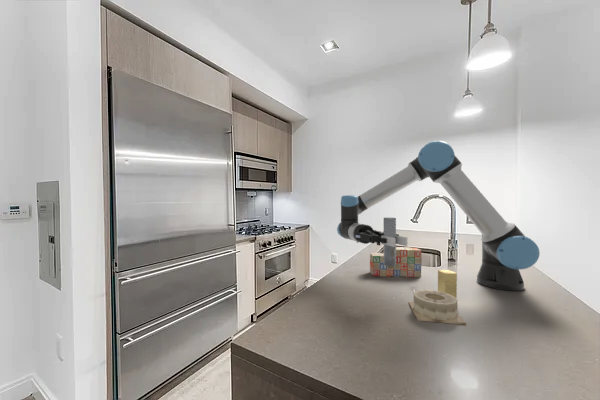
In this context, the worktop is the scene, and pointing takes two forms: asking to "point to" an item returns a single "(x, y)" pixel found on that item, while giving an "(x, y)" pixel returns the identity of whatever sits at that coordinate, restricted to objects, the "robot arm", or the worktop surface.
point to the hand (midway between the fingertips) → (400, 242)
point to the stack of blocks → (398, 263)
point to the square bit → (447, 282)
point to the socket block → (435, 307)
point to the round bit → (388, 250)
